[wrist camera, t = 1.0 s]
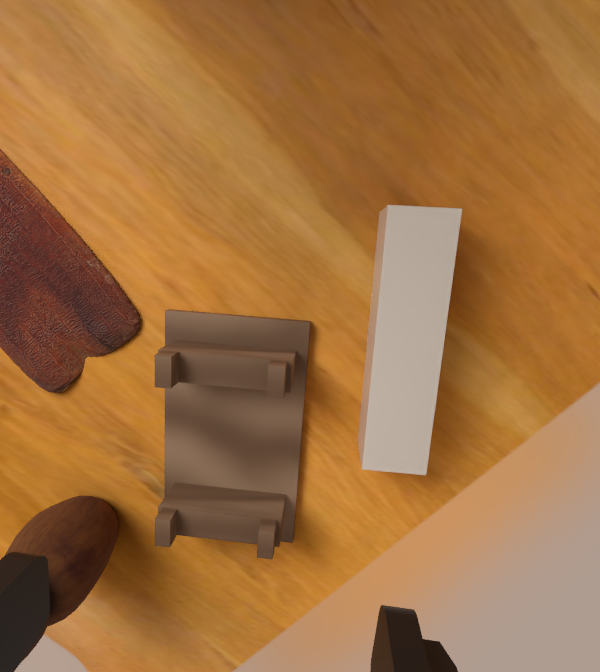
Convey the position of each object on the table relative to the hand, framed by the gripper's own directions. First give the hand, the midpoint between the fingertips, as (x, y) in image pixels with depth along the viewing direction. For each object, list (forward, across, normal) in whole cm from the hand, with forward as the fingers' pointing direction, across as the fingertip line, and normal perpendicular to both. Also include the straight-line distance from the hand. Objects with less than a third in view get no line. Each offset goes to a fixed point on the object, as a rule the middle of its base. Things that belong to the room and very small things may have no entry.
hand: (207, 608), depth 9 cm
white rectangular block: (+20, -7, -3) cm, 21 cm away
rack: (+19, +4, +5) cm, 20 cm away
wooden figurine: (+19, +14, +14) cm, 28 cm away
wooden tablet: (+20, +23, -8) cm, 32 cm away
